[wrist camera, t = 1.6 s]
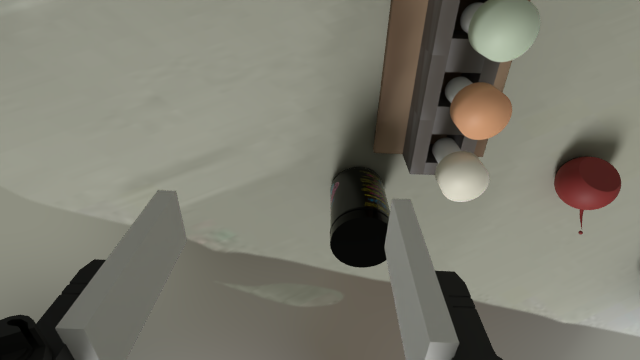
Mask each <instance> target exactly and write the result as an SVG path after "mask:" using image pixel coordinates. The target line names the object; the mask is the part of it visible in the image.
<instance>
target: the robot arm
mask: <svg viewBox="0 0 640 360" xmlns="http://www.w3.org/2000/svg"><path fill="white" fill-rule="evenodd" d="M186 242H187V238H186V233H185V229H184V224H183V220H182V215H181V211H180V206H179V202H178V197H177V193H176V191H163V190H158V191H157V192H156V194H155V195H154V196H153V198H152V199H151V200H150V202H149V203H148V204H147V206H146V207H145V208H144V210H143V211H142V212H141V214H140V215H139V216H138V218H137V219H136V220H135V222H134V223H133V225H132V226H131V227H130V229H129V230H128V231H127V233H126V234H125V235H124V237H123V238H122V239H121V241H120V242H119V243H118V245H117V246H116V247H115V249H114V250H113V251H112V253H111V254H110V256H109V257H108V258H107V259H106V260H93V261H91V262H90V263H89V264H87V265H86V266H85V267H83V268H82V269H80V270H79V272H78V273H77V274H76V275H75V277H74V278H73V279H72V280H71V281H70V284H69V285H67V286H66V288H65V289H64V290H63V291H62V294H61V295H59V296H58V298H57V299H56V300H55V301H54V303H53V304H52V305H51V306H50V307H49V309H48V310H47V311H46V313H45V314H44V315H43V316H42V317H41V319H40V320H39V321H38V322H37V324H35V322H34V320H32V319H31V318H30V317H29V316H24V315H16V316H11V317H7V318H5V319H2V320H0V360H126V359H127V357H128V355H129V354H130V352H131V349H132V348H133V346H134V344H135V342H136V340H137V338H138V336H139V333H140V332H141V330H142V328H143V326H144V324H145V322H146V320H147V318H148V316H149V314H150V312H151V310H152V308H153V306H154V304H155V302H156V301H157V299H158V297H159V295H160V293H161V291H162V289H163V287H164V285H165V283H166V281H167V279H168V277H169V275H170V273H171V271H172V269H173V267H174V265H175V263H176V261H177V259H178V257H179V255H180V253H181V251H182V250H183V248H184V245H185V244H186ZM384 248H385V254H386V259H387V264H388V269H389V275H390V280H391V285H392V290H393V295H394V301H395V306H396V311H397V316H398V321H399V327H400V332H401V337H402V342H403V348H404V353H405V358H406V360H503V359H502V358H500V357H498V356H497V355H496V354H495V352H494V350H493V348H492V346H491V343H490V341H489V338H488V336H487V334H486V332H485V329H484V327H483V324H482V322H481V320H480V317H479V315H478V312H477V310H476V309H475V305H474V303H473V300H472V299H471V296H470V293H469V291H468V289H467V286H466V284H465V282H464V281H463V280H462V279H461V278H460V277H459V276H458V275H457V274H456V273H455V272H450V271H435V270H434V267H433V264H432V261H431V258H430V255H429V252H428V249H427V246H426V244H425V241H424V238H423V235H422V232H421V229H420V226H419V223H418V220H417V217H416V214H415V211H414V208H413V205H412V202H411V199H392V203H391V210H390V216H389V222H388V228H387V234H386V240H385V247H384Z"/></svg>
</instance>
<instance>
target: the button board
mask: <svg viewBox="0 0 640 360" xmlns="http://www.w3.org/2000/svg"><path fill="white" fill-rule="evenodd" d="M486 1H488V0H391V5H390V14H389V22H388V31H387V39H386V47H385V56H384V64H383V72H382V81H381V89H380V97H379V106H378V114H377V123H376V131H375V139H374V148H373V150H374V153H388V154H403V157H404V160H405V162H406V165H407V168H408V170H409V173H410V174H425V175H435V171H436V167H437V165H438V162H437V160H436V159H435V157H434V155H433V153H432V147H433V145H434V143H435V142H436V141H437V140H439V139H441V138H446V137H447V138H451V139H453V140H454V141H455V142H456V144H457V145H458V147H459V148H460V150H461V151H467V152H471V153H473V154H475V155H476V156H477V157H483V154H484V151H485V148H486V144H487V141H488V139H483V140H474V139H470V138H468V137H466V136H465V135H463V134H462V133H461V131H460V130H459V129H458V127H457V126H456V125H455V124H454V122H453V121H452V119H451V116H450V106H451V103H450V101H449V100H448V99H447V98H446V96H445V87H446V85H447V84H448V82H449V81H450V80H452V79H453V78H456V77H466V78H467V79H469V80H470V81H471V82H472V83H477V82H485V83H489V84H491V85H493V86H494V87H496V88H497V89H498V90H500V91H501V92H503V89H504V85H505V82H506V79H507V75H508V72H509V69H510V66H511V62H512V60H511V61H507V62H495V61H492V60H490V59H488V58H486V57H485V56H483V55H481V54H480V53H478V52H477V51H475V50H474V49H473V47H472V46H471V44H470V42H469V38H468V33H466V32H465V31H464V30H463V29H462V28H461V25H460V18H461V15H462V12H463V11H464V9H465V8H466V7H467V6H469V5H470V4H472V3H475V2H481V3H485V2H486ZM528 1H530V0H528Z"/></svg>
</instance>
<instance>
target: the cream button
mask: <svg viewBox="0 0 640 360" xmlns="http://www.w3.org/2000/svg"><path fill="white" fill-rule="evenodd" d="M432 153H433V155H434V157H435V159H436V160H437V162H438V165H437V167H436V171H435V176H436V180H437V182H438V184H439V186H440V188H441V190H442V192H443V194H444V195H445V196H446V197H447V198H448V199H450V200H452V201H456V202H466V201H470V200H473V199H475V198H477V197H478V196H480V195H481V194H482V193H483V192H484V191H485V190H486V188H487V187H488V184H489V180H490V176H489V172H488V170H487V169H486V168H485V166H484V165H483V164H482V162H481V161H480V160H479V158H478V157H477V156H476V155H475V154H473V153H471V152H467V151H461V150H460V148H459V147H458V145H457V144H456V142H455V141H454V140H453V139H451V138H447V137H446V138H441V139H439V140H437V141H436V142H435V143H434V145H433V147H432Z"/></svg>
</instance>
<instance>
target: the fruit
mask: <svg viewBox="0 0 640 360" xmlns="http://www.w3.org/2000/svg"><path fill="white" fill-rule="evenodd" d="M554 186H555V190H556V193H557V194H558V196H559V197H560V199H561V200H562V201H564V202H565V203H566V204H568V205H569V206H571V207H574V208H577V209H580V222H581V229H582V216H583V211H584V210H594V209H599V208H602V207H604V206H606V205H608V204H610V203H611V202H612V201H613V200H614V199H615V198H616V197H617V195H618V194H619V191H620V188H621V179H620V175H619V173H618V171H617V170H616V169H615V168H614V167H613V166H612V165H611V164H610V163H608V162H607V161H605V160H603V159H600V158H596V157H579V158H575V159H573V160H570V161H568V162H567V163H565V164H564V165H563V166H562V167H561V168H560V169H559V170H558V172H557V174H556V176H555V181H554ZM579 234H583V232H582V231H579Z"/></svg>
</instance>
